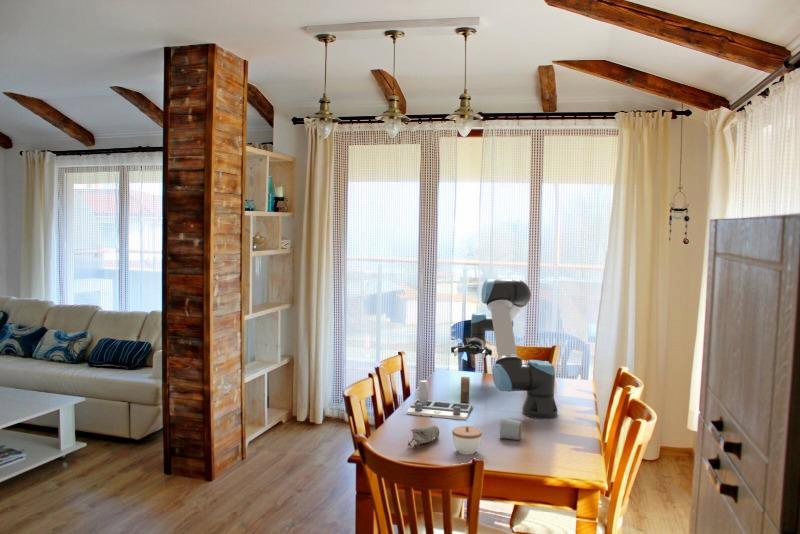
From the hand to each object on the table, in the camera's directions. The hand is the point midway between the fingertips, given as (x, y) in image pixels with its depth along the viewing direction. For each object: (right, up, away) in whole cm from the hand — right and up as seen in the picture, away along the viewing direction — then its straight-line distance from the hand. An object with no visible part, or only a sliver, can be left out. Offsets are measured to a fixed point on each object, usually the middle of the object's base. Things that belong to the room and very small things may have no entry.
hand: (468, 354), depth 288 cm
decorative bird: (-24, -25, -62) cm, 71 cm away
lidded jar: (-9, -25, -70) cm, 75 cm away
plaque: (-17, -22, -27) cm, 39 cm away
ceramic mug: (+10, -25, -54) cm, 60 cm away
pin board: (-14, -22, -18) cm, 32 cm away
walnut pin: (-3, -21, -8) cm, 23 cm away
